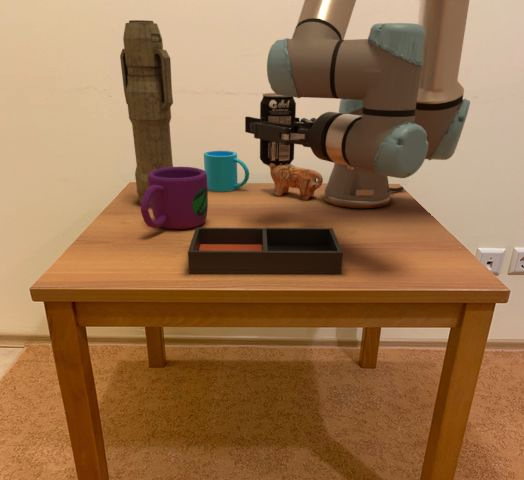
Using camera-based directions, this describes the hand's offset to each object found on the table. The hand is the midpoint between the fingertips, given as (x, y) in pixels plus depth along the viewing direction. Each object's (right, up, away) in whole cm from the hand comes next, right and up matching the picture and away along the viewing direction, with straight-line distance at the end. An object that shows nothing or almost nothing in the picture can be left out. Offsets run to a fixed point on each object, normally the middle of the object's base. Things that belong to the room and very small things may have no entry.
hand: (262, 123), depth 100 cm
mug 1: (-18, -20, +2) cm, 27 cm away
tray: (0, -29, -13) cm, 32 cm away
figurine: (+7, -7, +24) cm, 26 cm away
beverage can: (+3, -8, 0) cm, 8 cm away
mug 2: (-9, -4, +30) cm, 31 cm away
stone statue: (-24, -11, +18) cm, 31 cm away
